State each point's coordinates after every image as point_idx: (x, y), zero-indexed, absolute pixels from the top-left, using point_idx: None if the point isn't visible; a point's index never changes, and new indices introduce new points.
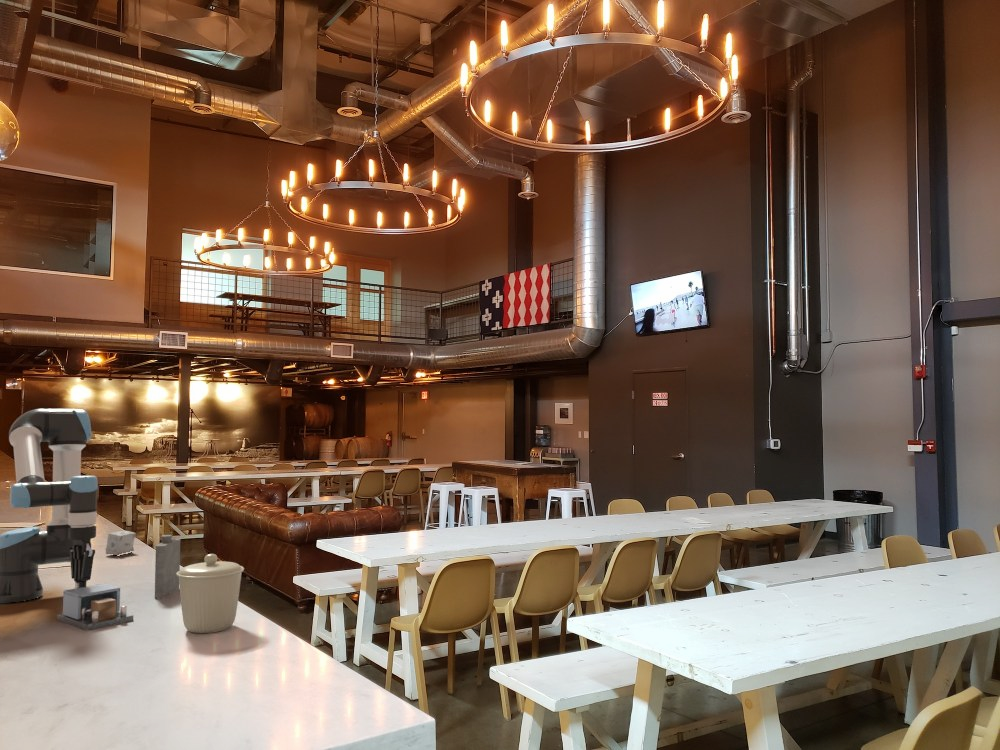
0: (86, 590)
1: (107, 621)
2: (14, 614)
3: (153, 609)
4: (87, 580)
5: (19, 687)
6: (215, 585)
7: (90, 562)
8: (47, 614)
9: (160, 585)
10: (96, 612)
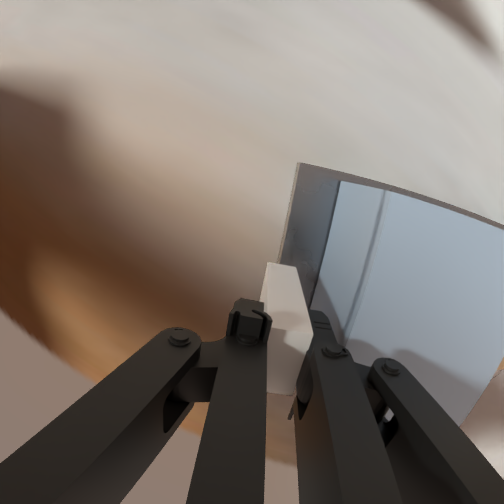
0: (435, 388)
1: None
2: (57, 345)
3: (469, 76)
4: (346, 349)
5: None
6: None
7: (487, 497)
8: (135, 313)
9: None
10: (501, 369)
